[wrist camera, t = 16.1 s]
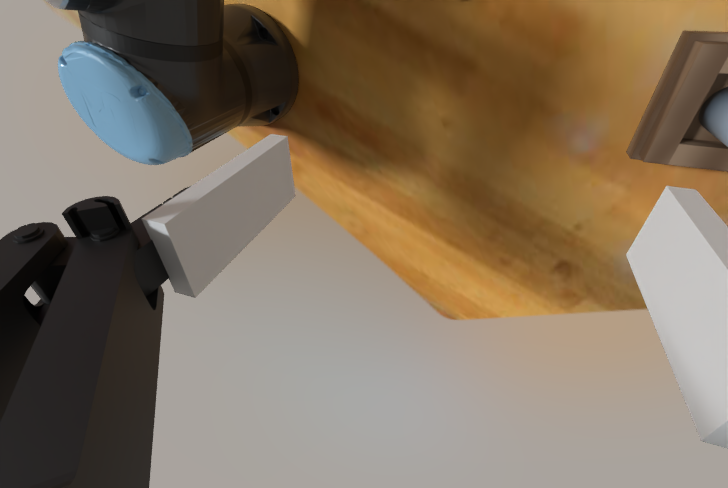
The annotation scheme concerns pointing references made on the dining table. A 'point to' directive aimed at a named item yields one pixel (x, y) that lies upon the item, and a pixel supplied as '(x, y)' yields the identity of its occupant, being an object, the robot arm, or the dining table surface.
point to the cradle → (685, 106)
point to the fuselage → (716, 115)
